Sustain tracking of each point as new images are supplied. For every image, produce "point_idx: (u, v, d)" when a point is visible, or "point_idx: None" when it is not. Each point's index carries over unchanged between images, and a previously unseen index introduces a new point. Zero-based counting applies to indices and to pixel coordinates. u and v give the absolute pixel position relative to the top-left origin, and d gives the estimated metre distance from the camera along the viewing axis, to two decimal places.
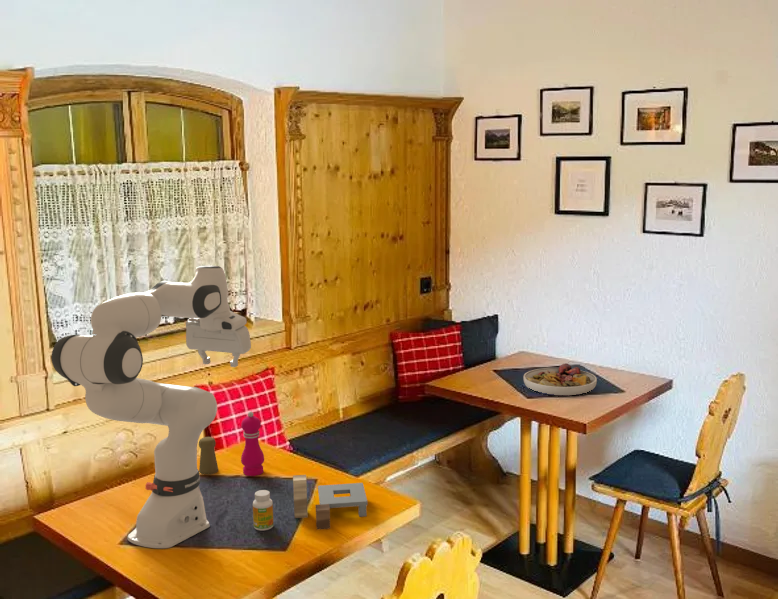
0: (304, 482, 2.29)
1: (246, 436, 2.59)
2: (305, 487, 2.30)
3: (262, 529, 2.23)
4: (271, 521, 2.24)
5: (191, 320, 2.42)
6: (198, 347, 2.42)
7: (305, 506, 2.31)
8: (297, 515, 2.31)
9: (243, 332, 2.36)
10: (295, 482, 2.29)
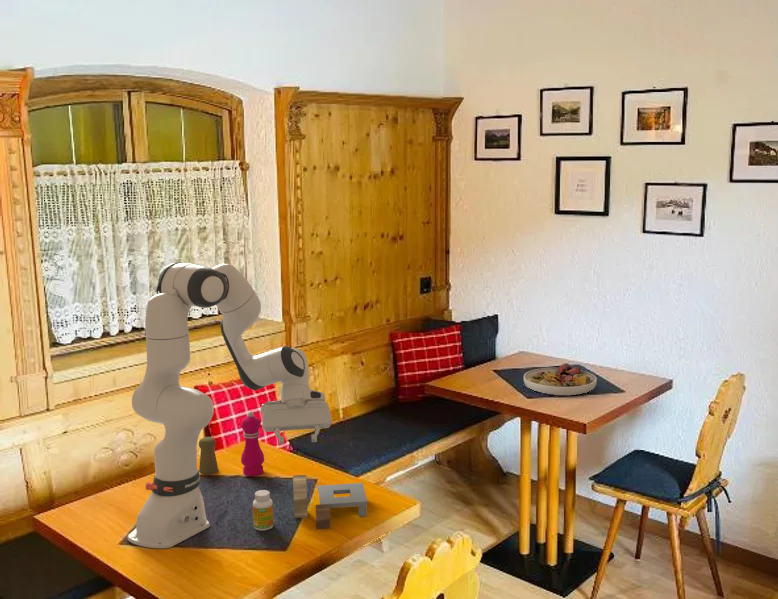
0: (304, 482, 2.29)
1: (246, 436, 2.59)
2: (305, 487, 2.30)
3: (262, 529, 2.23)
4: (271, 521, 2.24)
5: (268, 402, 2.48)
6: (277, 423, 2.43)
7: (305, 506, 2.31)
8: (297, 515, 2.31)
9: None
10: (295, 482, 2.29)
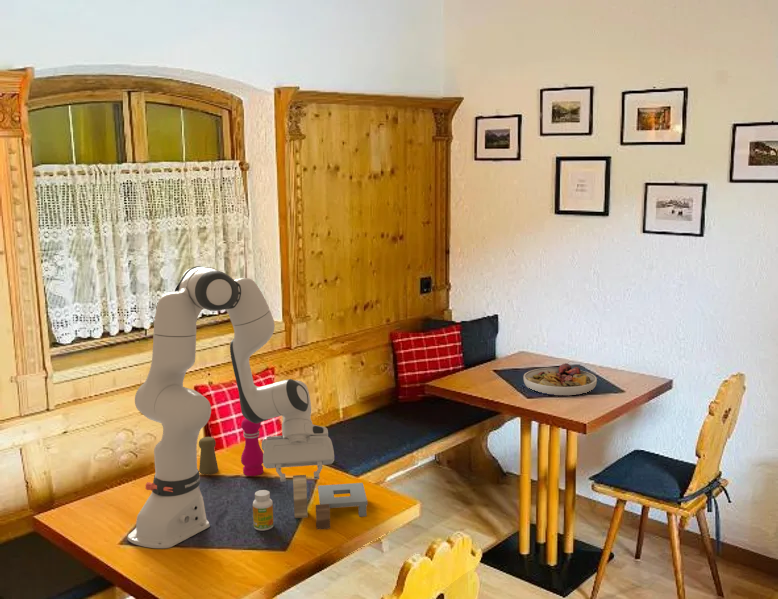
0: (304, 482, 2.29)
1: (246, 436, 2.59)
2: (305, 487, 2.30)
3: (262, 529, 2.23)
4: (271, 521, 2.24)
5: (269, 437, 2.40)
6: (278, 459, 2.35)
7: (305, 506, 2.31)
8: (297, 515, 2.31)
9: None
10: (295, 482, 2.29)
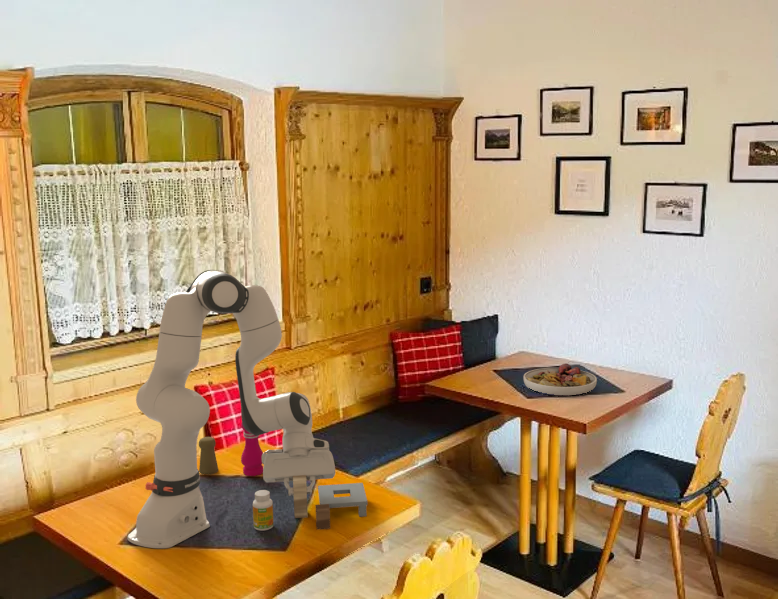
0: (304, 482, 2.29)
1: (246, 436, 2.59)
2: (305, 487, 2.30)
3: (262, 529, 2.23)
4: (271, 521, 2.24)
5: (270, 451, 2.37)
6: (278, 474, 2.32)
7: (305, 506, 2.31)
8: (297, 515, 2.31)
9: None
10: (295, 482, 2.29)
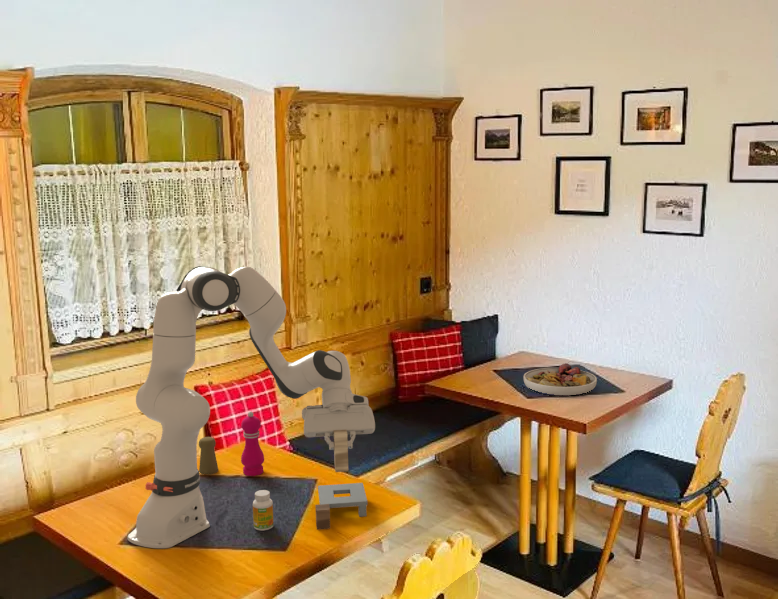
0: (345, 436, 2.31)
1: (246, 436, 2.59)
2: (346, 441, 2.31)
3: (262, 529, 2.23)
4: (271, 521, 2.24)
5: (310, 406, 2.39)
6: (319, 428, 2.34)
7: (346, 460, 2.32)
8: (338, 469, 2.33)
9: None
10: (336, 435, 2.31)
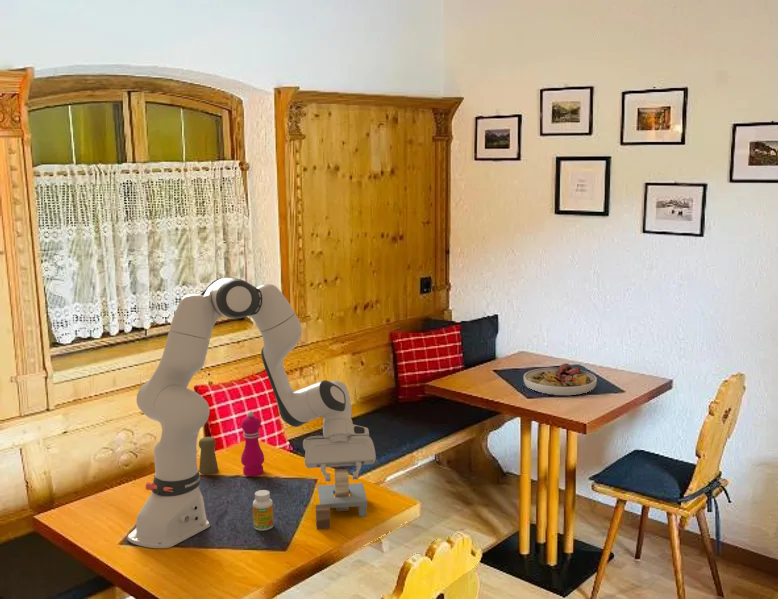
0: (346, 476, 2.33)
1: (246, 436, 2.59)
2: (347, 481, 2.33)
3: (262, 529, 2.23)
4: (271, 521, 2.24)
5: (311, 437, 2.40)
6: (320, 459, 2.35)
7: None
8: (339, 508, 2.35)
9: None
10: (337, 475, 2.33)
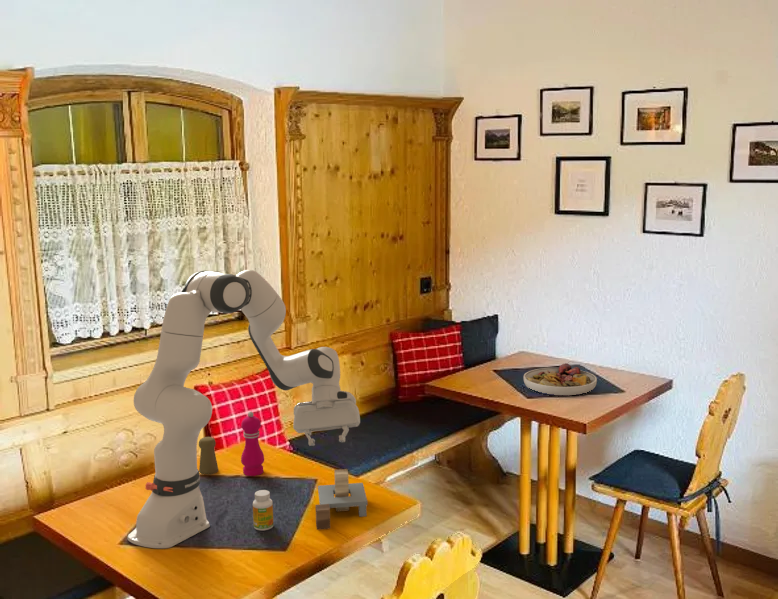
0: (346, 476, 2.33)
1: (246, 436, 2.59)
2: (347, 481, 2.33)
3: (262, 529, 2.23)
4: (271, 521, 2.24)
5: (300, 404, 2.55)
6: (306, 425, 2.50)
7: None
8: (339, 508, 2.35)
9: (355, 405, 2.51)
10: (337, 475, 2.33)
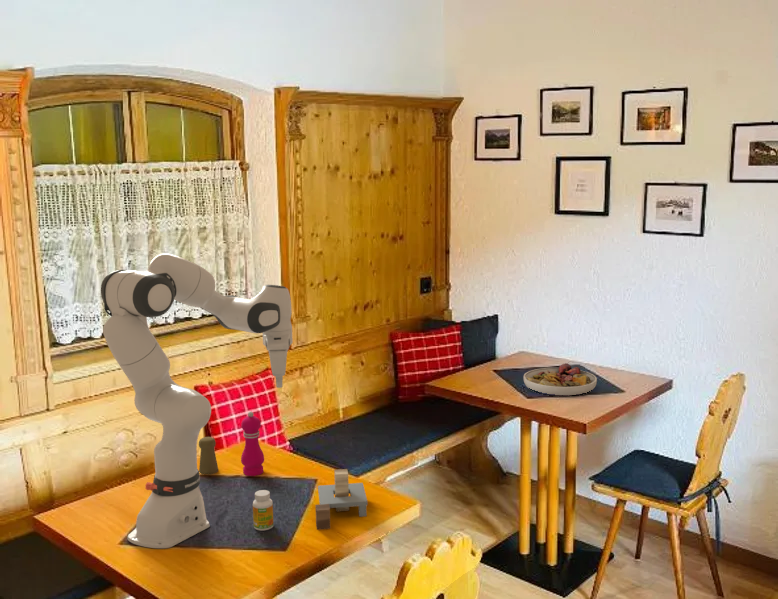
0: (346, 476, 2.33)
1: (246, 436, 2.59)
2: (347, 481, 2.33)
3: (262, 529, 2.23)
4: (271, 521, 2.24)
5: None
6: None
7: None
8: (339, 508, 2.35)
9: (276, 355, 2.41)
10: (337, 475, 2.33)
